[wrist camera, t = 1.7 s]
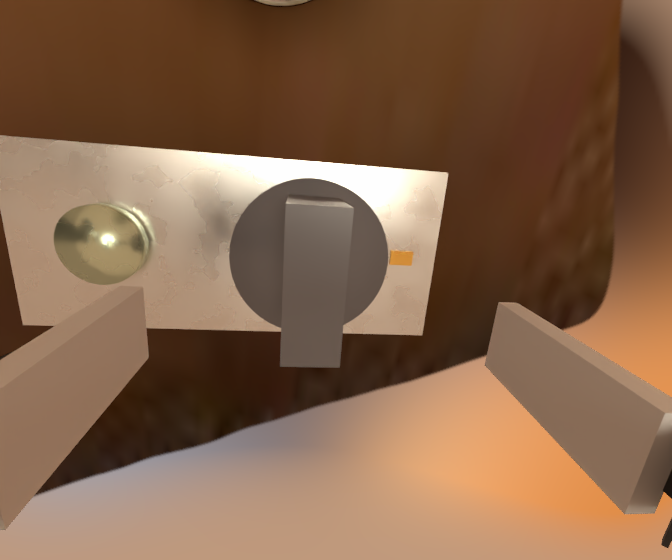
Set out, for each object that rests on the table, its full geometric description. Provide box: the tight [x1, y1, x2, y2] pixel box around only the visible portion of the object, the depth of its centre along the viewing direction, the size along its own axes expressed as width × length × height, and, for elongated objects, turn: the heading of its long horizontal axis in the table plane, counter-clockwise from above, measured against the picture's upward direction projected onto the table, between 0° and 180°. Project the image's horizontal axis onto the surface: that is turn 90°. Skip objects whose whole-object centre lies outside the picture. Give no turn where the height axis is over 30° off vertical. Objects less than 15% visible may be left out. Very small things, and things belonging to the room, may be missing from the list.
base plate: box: [0, 135, 448, 335], centre depth 24 cm, size 28×12×3 cm, turn 86°
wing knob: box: [229, 178, 388, 368], centre depth 20 cm, size 10×10×8 cm
